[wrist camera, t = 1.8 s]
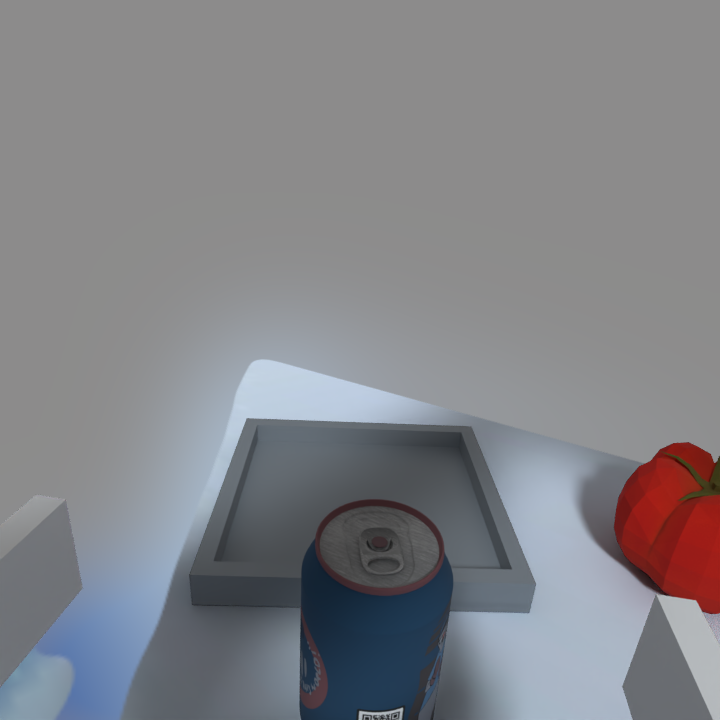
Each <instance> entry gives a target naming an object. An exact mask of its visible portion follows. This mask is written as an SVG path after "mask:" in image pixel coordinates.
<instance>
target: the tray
mask: <svg viewBox="0 0 720 720" xmlns="http://www.w3.org/2000/svg"><path fill="white" fill-rule="evenodd" d="M365 499H383V500H390V501H395V502H399V503H402V504H405V505H408V506H410V507H412V508H414V509H416V510H418V511H420V512H421V513H423V514H424V515H425V516H427V517H428V518H429V519H430V520H431V521H432V522H433V523H434V524H435V525H436V527H437V528H438V530H439V531H440V533H441V536H442V538H443V541H444V549H445V551H444V552H445V554H446V556H447V558H448V560H449V563H450V565H451V569H452V573H453V580H454V581H453V592H452V599H451V605H450V611H474V612H514V613H529V612H530V608H531V603H532V599H533V595H534V591H535V586H536V583H535V580H534V578H533V576H532V573H531V571H530V568H529V566H528V563H527V561H526V559H525V556H524V554H523V551H522V549H521V546H520V544H519V542H518V539H517V537H516V534H515V532H514V529H513V527H512V525H511V522H510V520H509V517H508V515H507V513H506V510H505V508H504V505H503V503H502V500H501V498H500V496H499V493H498V491H497V488H496V486H495V483H494V481H493V479H492V476H491V474H490V471H489V469H488V466H487V464H486V462H485V459H484V457H483V454H482V452H481V449H480V447H479V445H478V442H477V440H476V437H475V435H474V432H473V430H472V428H471V427H468V426H441V425H414V424H387V423H359V422H332V421H305V420H278V419H251V418H247V419H246V422H245V425H244V427H243V430H242V433H241V436H240V438H239V441H238V444H237V446H236V449H235V452H234V455H233V457H232V460H231V463H230V466H229V468H228V471H227V474H226V476H225V479H224V482H223V485H222V487H221V490H220V493H219V496H218V498H217V501H216V504H215V506H214V509H213V512H212V515H211V517H210V520H209V523H208V525H207V528H206V531H205V534H204V536H203V539H202V542H201V545H200V547H199V550H198V553H197V555H196V558H195V561H194V564H193V566H192V569H191V572H190V574H189V577H190V587H191V598H192V605H231V606H271V607H301V568H302V562H303V558H304V556H305V553H306V551H307V549H308V548H309V546H310V545H311V543H312V542H313V540H314V539H315V536H316V532H317V529H318V526H319V524H320V523H321V521H322V520H323V519H324V518H325V517H326V516H327V515H328V514H329V513H330V512H332V511H333V510H335V509H336V508H338V507H340V506H342V505H344V504H347V503H350V502H354V501H358V500H365Z"/></svg>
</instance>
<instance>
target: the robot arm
mask: <svg viewBox="0 0 720 720" xmlns="http://www.w3.org/2000/svg"><path fill="white" fill-rule="evenodd" d="M81 590H82V582H81V577H80V572H79V566H78V561H77V556H76V550H75V545H74V540H73V535H72V529H71V524H70V519H69V513H68V508H67V503H66V499H59V498H54V497H47V496H40V495H35V496H34V497H33V498H32V499H30V500H29V501H28V502H27V503H26V504H25V505H24V506H22V507H21V508H20V509H19V510H17V511H16V512H15V513H14V514H13V515H12V516H10V517H9V518H8V519H7V520H6V521H4V522H3V523H2V524H1V525H0V687H1V686H2V685H3V684H4V682H5V681H6V680H7V679H8V678H9V676H10V675H11V674H12V673H13V672H14V670H15V669H16V668H17V667H18V666H19V664H20V663H21V662H22V661H23V660H24V658H25V657H26V656H27V655H28V654H29V652H30V651H31V650H32V649H33V647H34V646H35V645H36V644H37V643H38V641H39V640H40V639H41V638H42V637H43V635H44V634H45V633H46V632H47V630H48V629H49V628H50V627H51V626H52V624H53V623H54V622H55V621H56V620H57V619H58V617H59V616H60V615H61V614H62V613H63V611H64V610H65V609H66V608H67V606H68V605H69V604H70V603H71V602H72V600H73V599H74V598H75V597H76V596H77V594H78V593H79V592H80V591H81ZM622 687H623V690H624V693H625V696H626V699H627V703H628V706H629V709H630V712H631V715H632V719H633V720H720V644H719V643H718V641H717V639H716V637H715V635H714V633H713V631H712V629H711V628H710V626H709V624H708V622H707V620H706V618H705V616H704V614H703V613H702V611H701V609H700V607H699V605H698V603H697V601H696V600H690V599H683V598H677V597H671V596H665V595H658V594H656V596H655V599H654V601H653V604H652V607H651V610H650V612H649V615H648V618H647V621H646V623H645V626H644V629H643V632H642V634H641V637H640V640H639V643H638V645H637V648H636V651H635V654H634V656H633V659H632V662H631V664H630V667H629V670H628V673H627V675H626V678H625V681H624V684H623V686H622Z"/></svg>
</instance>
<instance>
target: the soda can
mask: <svg viewBox="0 0 720 720" xmlns="http://www.w3.org/2000/svg"><path fill="white" fill-rule="evenodd" d="M444 551H445V549H444V541H443V538H442V536H441V533H440V531H439V530H438V528H437V527H436V525H435V524H434V523H433V522H432V521H431V520H430V519H429V518H428V517H427V516H425V515H424V514H423V513H421V512H420V511H418V510H416V509H414V508H412V507H410V506H408V505H405V504H402V503H399V502H395V501H390V500H383V499H365V500H358V501H354V502H350V503H347V504H344V505H342V506H340V507H338V508H336V509H335V510H333V511H332V512H330V513H329V514H328V515H327V516H326V517H325V518H324V519H323V520H322V521H321V523H320V524H319V526H318V529H317V532H316V536H315V539H314V540H313V542H312V543H311V545H310V546H309V548H308V549H307V551H306V553H305V556H304V558H303V562H302V568H301V633H300V715H301V720H433V715H434V709H435V702H436V696H437V689H438V683H439V676H440V670H441V663H442V657H443V650H444V644H445V637H446V631H447V624H448V618H449V612H450V605H451V599H452V592H453V581H454V580H453V573H452V569H451V565H450V563H449V560H448V558H447V556H446V554H445V552H444Z"/></svg>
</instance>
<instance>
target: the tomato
mask: <svg viewBox="0 0 720 720" xmlns="http://www.w3.org/2000/svg"><path fill="white" fill-rule="evenodd" d="M614 530H615V534H616V538H617V542H618V544H619V546H620V548H621V550H622V552H623V553H624V555H625V556H626V558H627V559H628V560H629V561H630V562H631V563H632V564H634V565H635V566H637V567H638V568H639V569H641V570H642V571H644V572H645V573H646V574H648V575H649V577H650V578H651V579H652V580H653V581H654V582H655V583H656V584H657V585H658V586H659V587H660V588H661V589H662V591H663V592H665V593H666V594H668V595H670V596H671V597H677V598H683V599H690V600H696V601H697V603H698V605H699V607H700V609H701V611H703V612H706V613H709V614H718V613H720V456H719V458H718V461H717V462H716V463H714V462H713V459H712V456H711V454H710V453H708V452H706V451H704V450H703V449H701V448H699V447H697V446H695V445H693V444H691V443H689V442H687V443H673V444H671V445H669V446H667V447H665V448H662V449H660V450H659V451H658V453H657V454H656V455H655V456H654V457H653V459H652V460H651V461H650V462H648V463H645V464H643V465H641V466H639V467H638V468H637V470H636V471H635V472H634V473H633V474H632V475H631V477H630V478H629V479H628V480H627V482H626V484H625V486H624V488H623V490H622V492H621V494H620V496H619V498H618V503H617V508H616V515H615V523H614Z"/></svg>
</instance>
